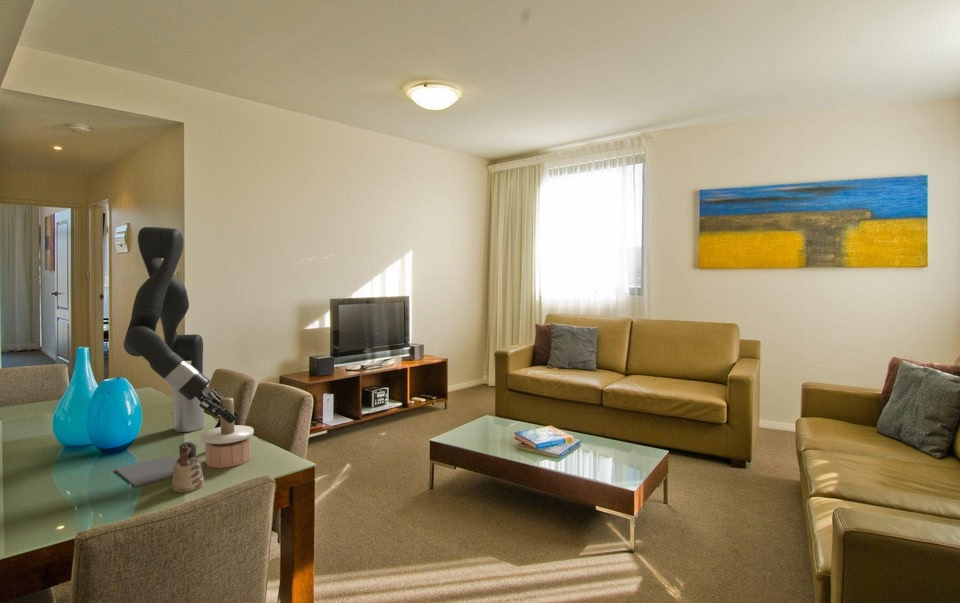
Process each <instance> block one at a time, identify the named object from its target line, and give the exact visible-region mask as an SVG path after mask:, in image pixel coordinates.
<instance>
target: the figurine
mask: <svg viewBox="0 0 960 603" xmlns="http://www.w3.org/2000/svg"><path fill="white" fill-rule="evenodd" d="M197 447H198V446H197V445H196V444H195V443H194V442H192V441H184V442H182V443H181V444H180V445H179V447H178V448H179V459H177V461H176V463H175V465H174V468H173V477H172V481H171V485H172V487H171V488H172V490H173V491H174V493H181V494H182V493H183V494H184V493H190V492H195V491H197V490H200V489H202V488H203V487H204V484H205V478H204V475H203V468H202V463H201V460H200V459H198V458H199V455H198V454H197Z"/></svg>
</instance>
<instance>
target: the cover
mask: <svg viewBox="0 0 960 603" xmlns="http://www.w3.org/2000/svg"><path fill="white" fill-rule="evenodd" d="M220 401H221V405H222V406H223V407H225V408H226V410H228V411H229V412H230V413H231V414H233V415H234V410H235V400H234V397H225V398H222V399H220ZM226 410H225V411H226ZM219 417H220V419H221V427H218V428H215V427H214V428H211V429H209V430H206V431H204V432H202V433H201V434H200V441H201V442H202V443H204V444H206V443H209V444H225V443H232V442H237V441H241V440H244V439H247V438H249V437H250V438H251V437H252V436H253V435H254V433H255V432H254V431H255V429H254V428H253V427H252V426H248V425H242V424H240V425H239V424H238V425H236V424H235V420H234V421H233V422H232V423H229V422H227V421H226V420H225V419H224V418H222V417H221V415H220V416H219ZM234 424H235V425H234Z"/></svg>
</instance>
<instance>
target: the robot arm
mask: <svg viewBox="0 0 960 603" xmlns="http://www.w3.org/2000/svg"><path fill="white" fill-rule="evenodd" d="M137 245H138V249H139V253H140V255H141V258H142V260H143V264H144V266H145V268H146V271H147V274H148V277H149V278H148V279H146V281H144V282H143V283H142V284H141V285H140V287H139V288H138V290H137V292H136V295H135V297H134V302H133V306H132V310H131V316H130V317H131V318H130V321H129V325H128V328H127V329H126V334H125V336H124V339H123V348H124V350H125V352H126V353H127V354H128V355H130V356H132V357H135V358H136V357H139V358H140V357H142V358H144V359H145V360H146V362H148V364H149V366H150V369H152V371H154V372H155V373H156V374H157V375H159V376H160V377H161V378H162V379H163V380H165V381H166V383H168V384H169V385H170V387H172V391H173V392H172V393H173V396H172V398H173V424H174V427H173V428H174V432H178V433H187V432H195V431H199V430H201V429H203V428H204V427H205V411H206V412H208V413H209V414H211V415H212V416H215V417H218V416H219V417H220V415H221V417H222V418H224V419H225V420H226V421H227V422H229V423H232V422H233V421H234V422H235V421H236V419H237V417H238V416H239V412H237V411H236V410H235V409H234V415H233V414H231V413H230V412H229V411H228V410H226V408H225V407H223V406H222V405H221V401H220V399H222V398H226V397H225V396H224V395H223V394H222V393H221V392H220V391H219V390H218V389H217V388H214V389H211V388H209V387H208V385H209V384H210V383H211V380H210V379H209V378H208V377H207V376H205V375H204V373H203V370H204V366H203V365H204V364H203V363H204V362H203V361H204V340H203V337H202V335H200V334H178V333H177V329H178V327H179V325H180V323H181V322H182V320H183V318H184V317H185V316H186V315H187V313H188V310H189V308H190V302H189V296H188V291H187V289H186V286H185V285H184V283H182V281H181V280H180V279H179V278H178V277H177V276H176V275H175V271H176V269H177V266H178V264H179V262H180V258H181V257H182V254H183V249H184V237H183V233H182V232H181V230H179V229H176V228H172V227H170V228H169V227H154V226H144V227H142V228H140V229H139V231H138V234H137ZM162 259H163V260H162ZM159 321H160V323H161V327H162V332H163V337H164V338H162V337H161V336H160V335H159V334H158V333H157V332H156V330H157V325H158V322H159ZM189 362H190V363H189ZM225 410H226V411H225ZM221 417H220V418H221Z"/></svg>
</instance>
